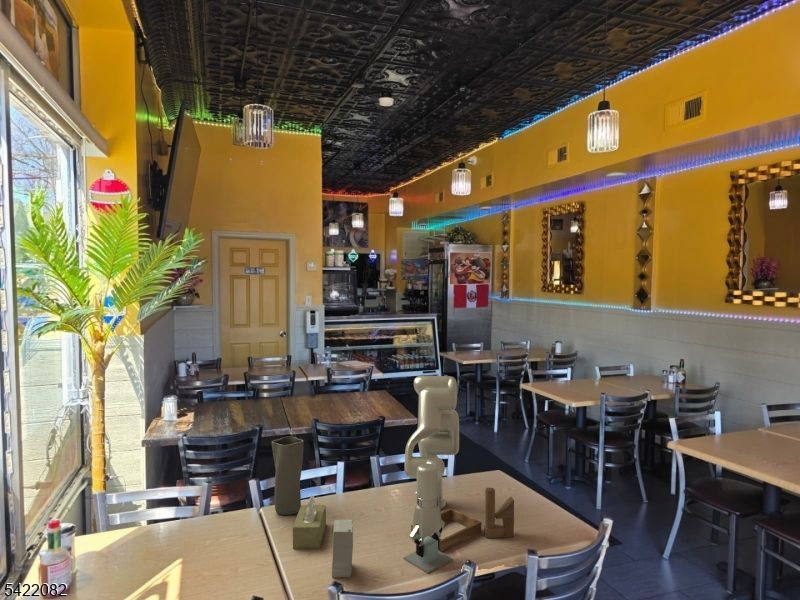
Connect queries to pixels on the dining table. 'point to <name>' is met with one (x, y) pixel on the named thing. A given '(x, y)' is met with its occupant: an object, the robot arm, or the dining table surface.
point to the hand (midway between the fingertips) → (427, 551)
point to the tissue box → (309, 526)
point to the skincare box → (342, 548)
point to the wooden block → (498, 516)
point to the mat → (425, 566)
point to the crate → (471, 530)
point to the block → (429, 549)
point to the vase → (287, 474)
